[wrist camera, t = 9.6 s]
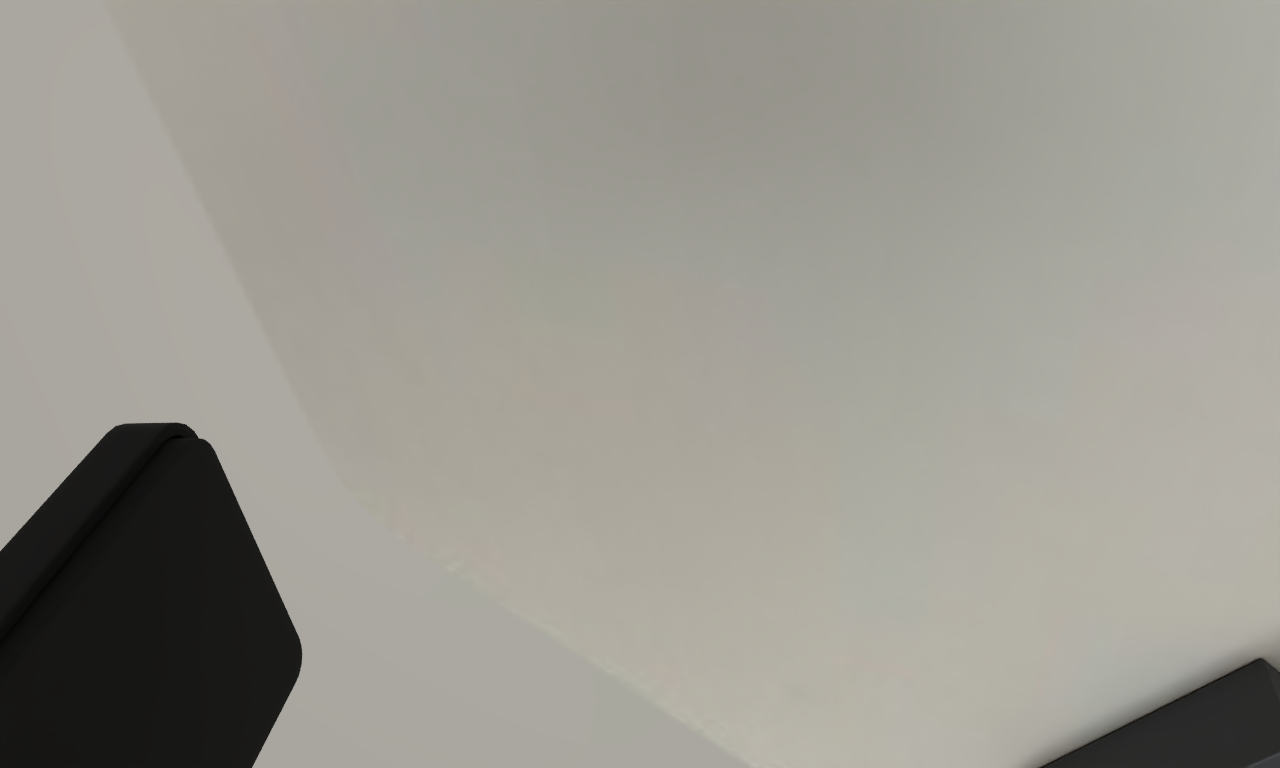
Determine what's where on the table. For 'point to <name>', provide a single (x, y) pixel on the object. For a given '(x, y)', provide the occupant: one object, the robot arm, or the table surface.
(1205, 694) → the dial panel
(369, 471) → the table surface
